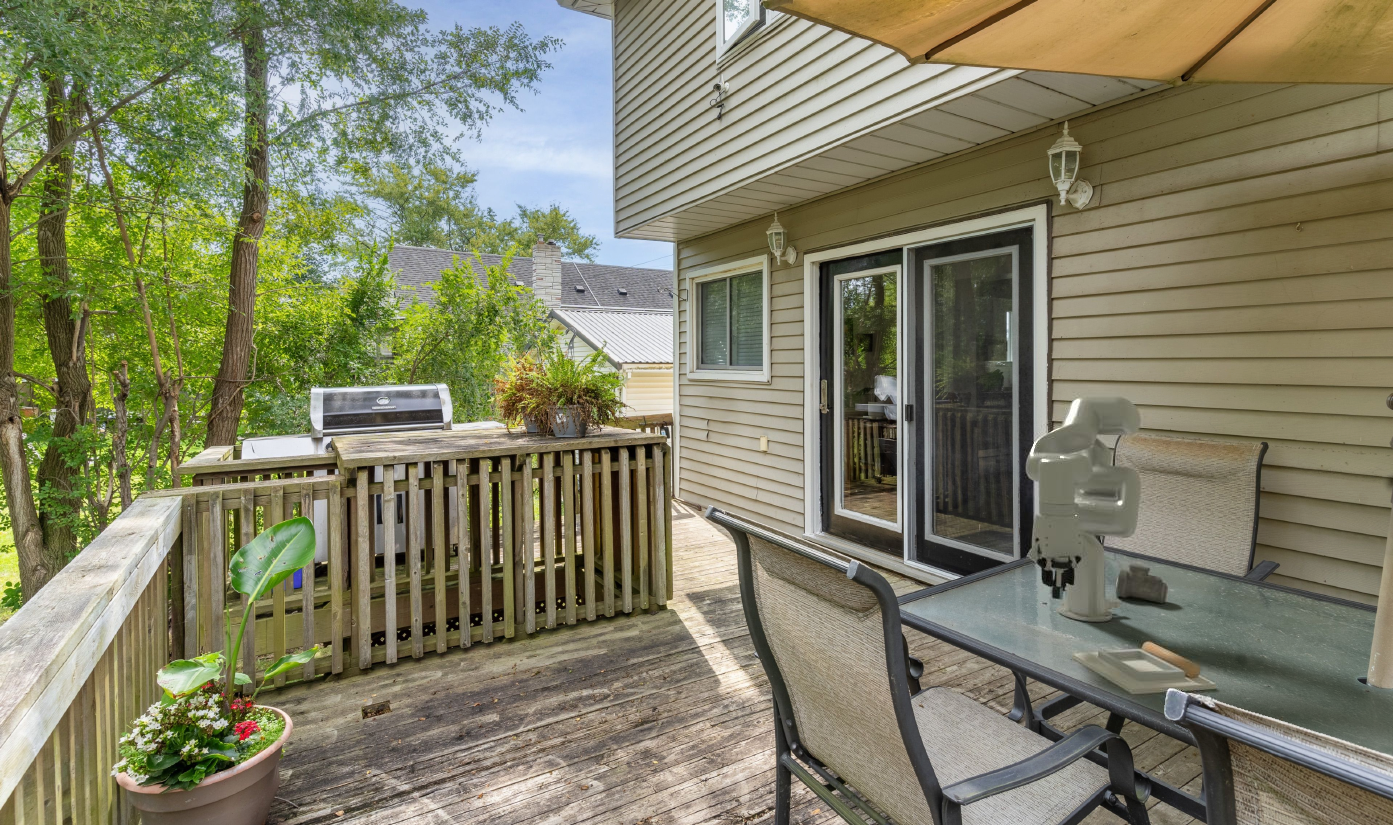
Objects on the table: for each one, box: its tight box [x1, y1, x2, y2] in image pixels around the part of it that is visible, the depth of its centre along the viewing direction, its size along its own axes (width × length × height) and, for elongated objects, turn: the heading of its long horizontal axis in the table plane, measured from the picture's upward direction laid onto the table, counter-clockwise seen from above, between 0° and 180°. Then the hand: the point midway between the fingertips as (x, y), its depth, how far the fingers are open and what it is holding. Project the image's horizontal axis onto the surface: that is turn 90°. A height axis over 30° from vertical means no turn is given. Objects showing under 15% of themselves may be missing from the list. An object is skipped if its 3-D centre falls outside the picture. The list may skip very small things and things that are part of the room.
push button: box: [1051, 557, 1073, 601], centre depth 154 cm, size 7×5×10 cm
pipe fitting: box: [1115, 562, 1169, 604], centre depth 185 cm, size 12×8×10 cm
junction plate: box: [1071, 641, 1217, 695], centre depth 138 cm, size 18×18×4 cm
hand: (1058, 583), depth 154 cm, fingers closed on push button, 4 cm apart
